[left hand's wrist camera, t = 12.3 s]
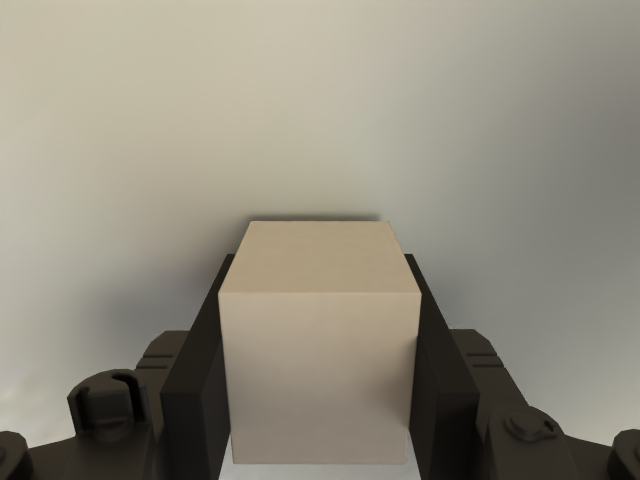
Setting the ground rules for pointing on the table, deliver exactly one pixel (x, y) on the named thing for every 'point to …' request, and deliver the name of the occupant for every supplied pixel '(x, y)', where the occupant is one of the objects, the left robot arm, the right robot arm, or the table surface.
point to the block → (319, 343)
